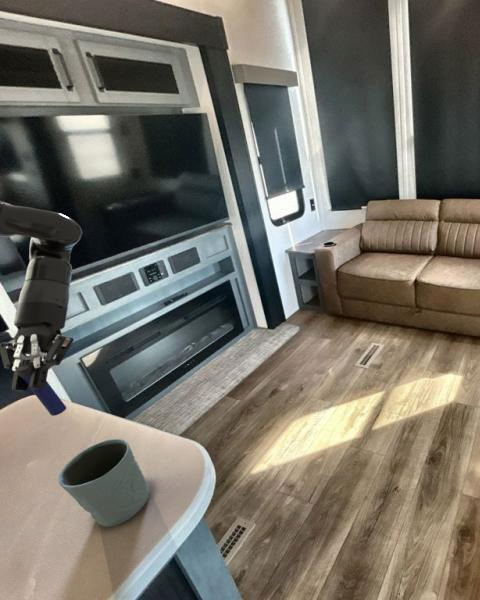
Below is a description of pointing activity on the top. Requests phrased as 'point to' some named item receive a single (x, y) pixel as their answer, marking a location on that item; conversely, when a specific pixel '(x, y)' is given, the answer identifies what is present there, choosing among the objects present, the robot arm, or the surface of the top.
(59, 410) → the marker
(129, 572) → the top surface
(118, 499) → the grey-green cup
